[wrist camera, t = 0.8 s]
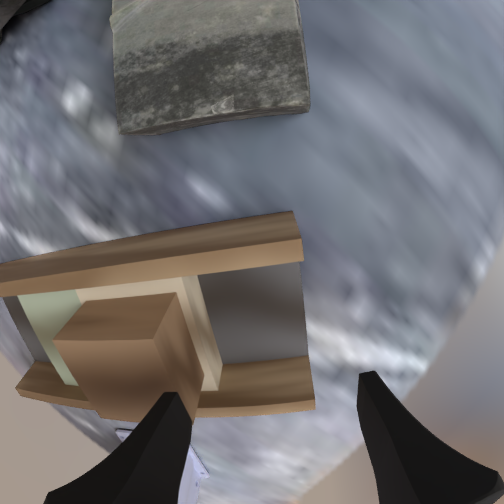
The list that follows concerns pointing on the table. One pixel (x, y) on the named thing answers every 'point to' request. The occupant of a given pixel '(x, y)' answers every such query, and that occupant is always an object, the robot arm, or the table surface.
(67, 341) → the walnut block
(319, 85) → the table surface
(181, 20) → the stone block
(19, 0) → the caster wheel
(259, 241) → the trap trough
